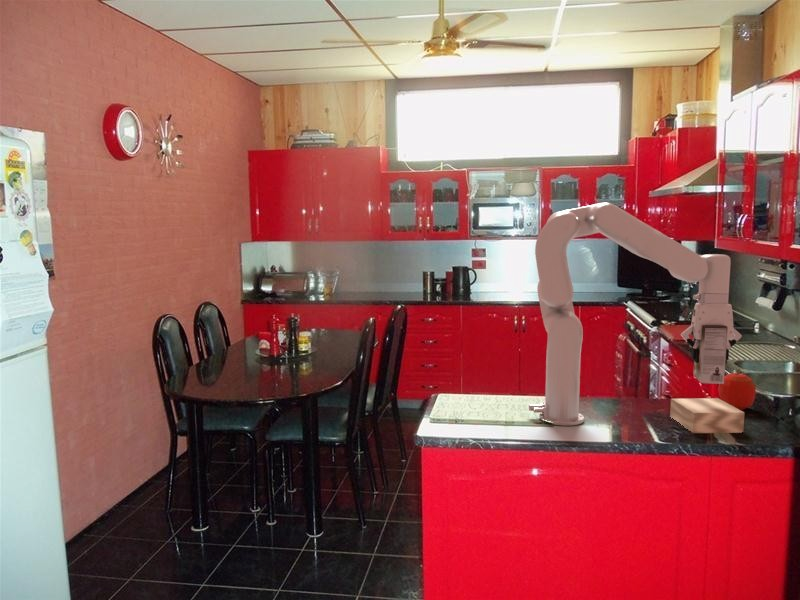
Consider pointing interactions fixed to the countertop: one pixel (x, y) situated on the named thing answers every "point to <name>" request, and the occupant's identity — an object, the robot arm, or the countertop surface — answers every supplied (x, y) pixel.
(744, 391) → the apple
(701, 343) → the coffee box
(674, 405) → the beech block
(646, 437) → the countertop surface
